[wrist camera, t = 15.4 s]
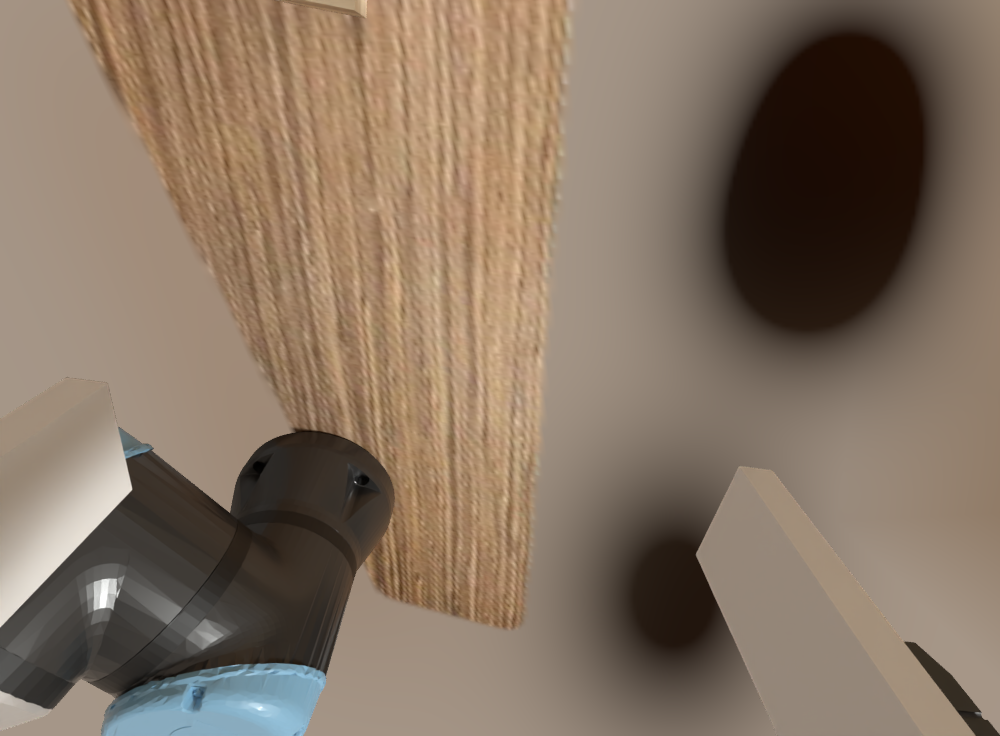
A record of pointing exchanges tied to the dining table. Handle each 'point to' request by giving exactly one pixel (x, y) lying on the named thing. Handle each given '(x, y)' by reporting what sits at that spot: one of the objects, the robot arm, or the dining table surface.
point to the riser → (335, 6)
